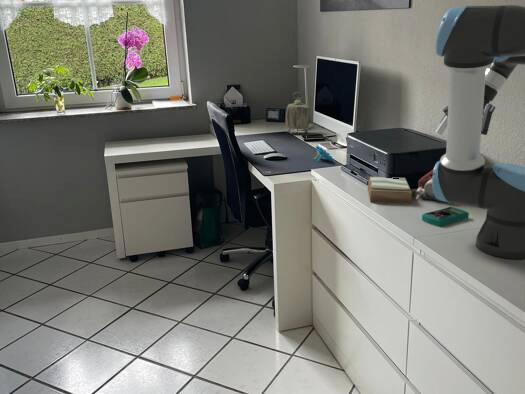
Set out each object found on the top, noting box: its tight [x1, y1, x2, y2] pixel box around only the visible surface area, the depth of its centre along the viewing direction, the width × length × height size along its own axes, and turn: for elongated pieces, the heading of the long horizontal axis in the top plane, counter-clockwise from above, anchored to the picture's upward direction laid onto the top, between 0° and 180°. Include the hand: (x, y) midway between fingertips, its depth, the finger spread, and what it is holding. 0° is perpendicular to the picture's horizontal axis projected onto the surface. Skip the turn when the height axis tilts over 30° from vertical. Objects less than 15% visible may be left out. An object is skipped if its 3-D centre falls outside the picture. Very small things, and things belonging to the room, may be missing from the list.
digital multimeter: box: [421, 206, 469, 227], centre depth 163 cm, size 7×15×3 cm, turn 122°
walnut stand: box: [367, 176, 413, 205], centre depth 186 cm, size 18×14×5 cm
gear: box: [313, 145, 334, 163], centre depth 238 cm, size 11×6×10 cm
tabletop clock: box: [285, 91, 311, 135], centre depth 301 cm, size 14×9×25 cm, turn 84°
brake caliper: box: [415, 169, 441, 202], centre depth 183 cm, size 11×11×12 cm
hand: (450, 141), depth 172 cm, fingers open, 13 cm apart
